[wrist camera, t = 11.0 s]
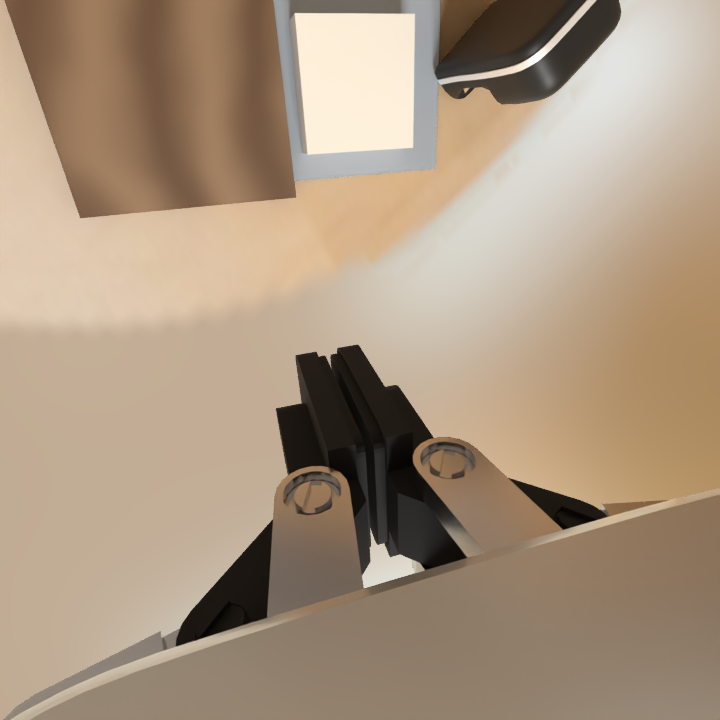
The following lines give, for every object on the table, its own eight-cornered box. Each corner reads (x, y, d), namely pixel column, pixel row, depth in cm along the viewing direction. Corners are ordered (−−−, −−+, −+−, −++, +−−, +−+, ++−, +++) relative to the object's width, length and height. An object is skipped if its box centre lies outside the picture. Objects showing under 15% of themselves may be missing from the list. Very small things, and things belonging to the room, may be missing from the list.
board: (263, -58, 28) (265, -67, 26) (293, 194, 35) (296, 197, 33) (-10, -66, 24) (-23, -77, 23) (86, 214, 32) (80, 218, 30)
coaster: (401, 21, 31) (415, 13, 29) (401, 146, 35) (413, 147, 33) (289, 21, 29) (294, 13, 27) (302, 152, 33) (307, 154, 31)
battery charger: (455, 116, 35) (554, 111, 26) (427, 74, 33) (523, 53, 24) (518, 45, 34) (644, 13, 25) (494, -2, 32) (621, -57, 23)
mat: (439, -35, 31) (441, -36, 30) (434, 168, 37) (435, 168, 37) (265, -38, 28) (266, -39, 28) (291, 181, 34) (292, 181, 34)
